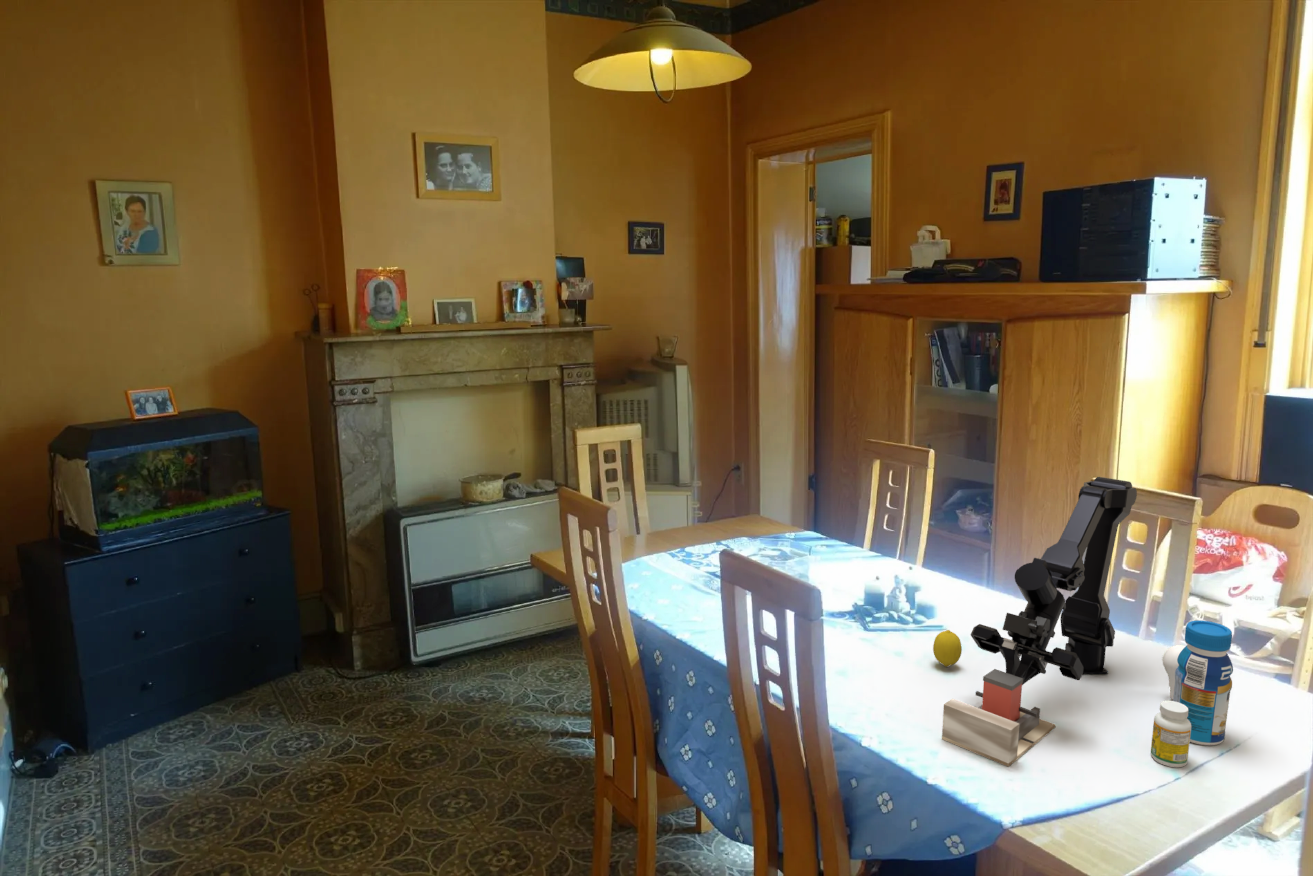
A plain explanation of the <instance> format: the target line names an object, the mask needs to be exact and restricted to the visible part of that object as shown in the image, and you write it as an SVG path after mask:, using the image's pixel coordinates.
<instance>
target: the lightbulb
mask: <svg viewBox="0 0 1313 876" xmlns="http://www.w3.org/2000/svg"><path fill="white" fill-rule="evenodd" d="M1186 646H1187V645H1183V644H1182V645H1181V644H1178V645H1177V644H1176V645H1172V646H1170V647H1168V648H1167V649H1166V650H1165V651H1164V653H1163V655H1162V659H1161V660H1162V666H1163V667H1164V670H1165V671H1166V674H1167V677H1168V686H1169V687H1168V688H1169V697H1170V698H1171V699H1172V700H1173V697H1174V687H1175V671H1176V669H1177V667H1178V666H1179V664H1178V662H1177V658H1178V656H1179V654H1180V652H1181V651H1182V650H1183V649H1184V648H1185V647H1186Z"/></svg>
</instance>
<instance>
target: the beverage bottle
mask: <svg viewBox="0 0 1313 876" xmlns="http://www.w3.org/2000/svg"><path fill="white" fill-rule="evenodd" d="M1232 640H1233V632H1232V630H1231V629H1230V628H1229V627H1227V626H1226V625H1223V624H1220V623H1218V622H1213V621H1208V620H1199V619H1197V620H1191V621H1189V622H1187V623H1186V626H1185V633H1184V642H1185V644H1186V645H1185V646H1186V647H1185V648H1184V649H1183V650H1182V651H1181V652H1180V654H1179V656H1178V658H1177V662H1178V664H1179V666H1178V667H1177V669H1176V671H1175V687H1174V697H1173V699H1172V701H1175V702H1179V703H1181V704H1183V705H1185V706H1186V707H1187V708H1188V717H1187V719H1188V720H1189V721H1190V723H1191V734H1190V743H1193V744H1196V745H1200V746H1216V745H1220V744H1221V743H1223V741H1225V738H1226V737H1225V736H1226V726H1227V719H1228V714H1229V711H1228V710H1229V704H1230V703H1229V702H1230V696H1231V691H1232V688H1233V680H1232V677H1231V676H1232V674H1233V672H1234V667H1233V663H1232V662H1233V661H1232V660H1231V657H1229V656H1230V655H1228V652H1229V651H1230V650H1231V647H1232V642H1233V641H1232Z"/></svg>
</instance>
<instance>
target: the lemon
mask: <svg viewBox="0 0 1313 876" xmlns="http://www.w3.org/2000/svg"><path fill="white" fill-rule="evenodd" d="M932 651H933V652H932V653H933V655H934V658H935V660H936V661H937V662H938V663H940V664H942V665H943V666H944V667H945V668H948V667H949V666H953V665H955V664H956V663H958V662H959V661H960V659H961V656H962V653H963V652H962V651H963V649H962V642H961V639H960V637H959V636H958V635H957V634H956V633H955V632H953V631H951V630H950V629H946V630H943V631H941V632H939V633H937V635H936V636H935V639H934V641H933V645H932Z"/></svg>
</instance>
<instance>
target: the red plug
mask: <svg viewBox="0 0 1313 876" xmlns="http://www.w3.org/2000/svg"><path fill="white" fill-rule="evenodd" d="M982 681H983V686H982V687H983V688H982V689H983V690H982V692H981V691H979V690H976V691H975V696H977V697H979V698H982V704H981V705H982V710H985V711H987V712H990V713H993V714H995V715H998V716H1001V717H1003V718H1006V719H1009V720H1011V721H1014V722H1015V721H1017V720H1018V719H1019V718H1020V712H1023V713H1026V714H1028V715H1031V716H1034V717H1037V712H1034V711H1031V709H1028V708H1025V707H1023V706H1021V705H1022V704H1021V703H1022V693H1023V692H1022V690H1023V685H1022V683H1023V678H1020V677H1017V676H1014V675H1011V674H1008V673H1006V671H1002V670H999V669H996V668H994V669H992V670H991V671H989V672H988V673H986V674H985V675H983V677H982Z"/></svg>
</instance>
